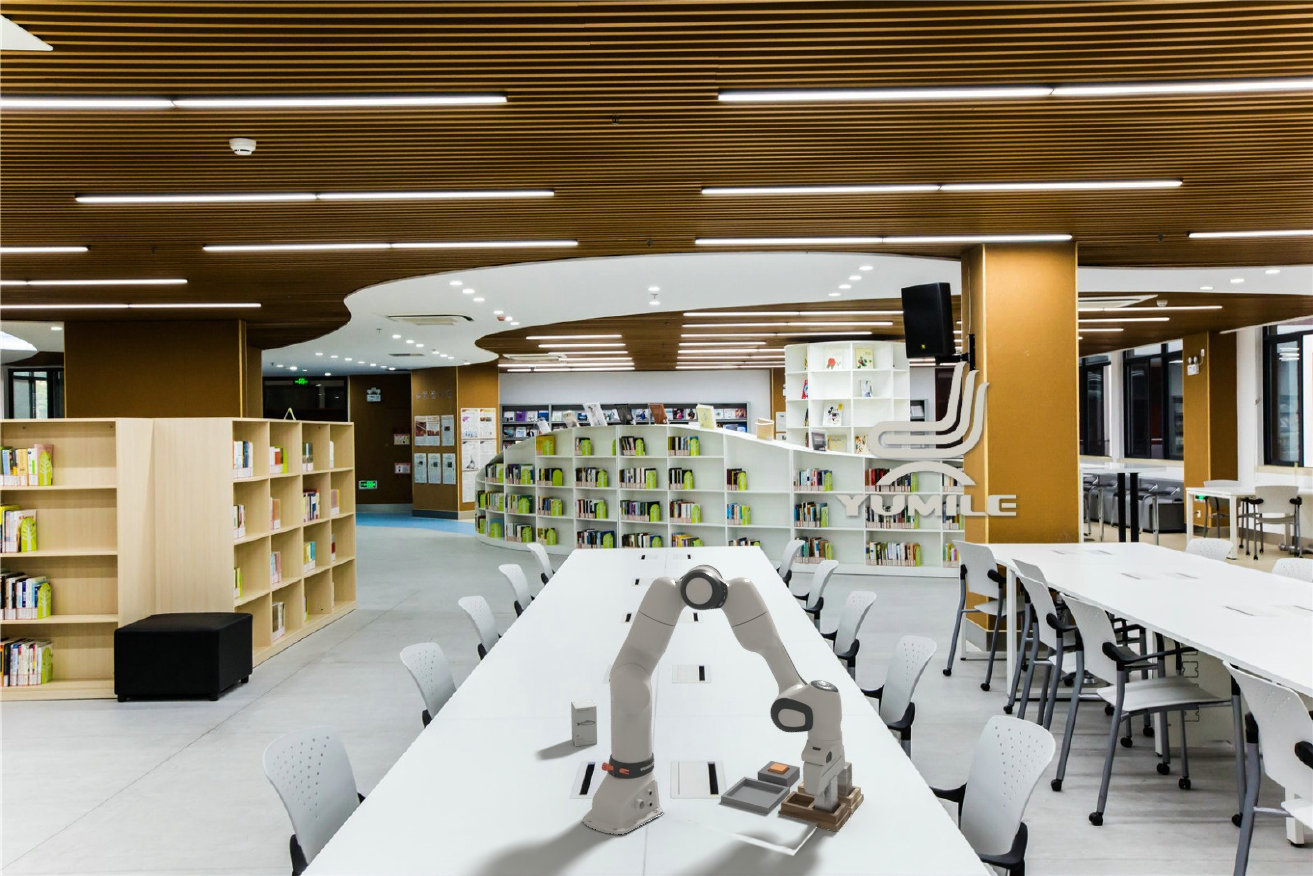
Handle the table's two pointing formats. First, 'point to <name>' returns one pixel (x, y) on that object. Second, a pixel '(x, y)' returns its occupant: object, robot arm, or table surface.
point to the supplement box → (584, 722)
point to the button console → (779, 775)
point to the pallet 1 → (844, 799)
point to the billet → (829, 798)
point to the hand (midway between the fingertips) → (825, 798)
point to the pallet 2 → (813, 811)
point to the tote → (755, 795)
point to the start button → (778, 768)
